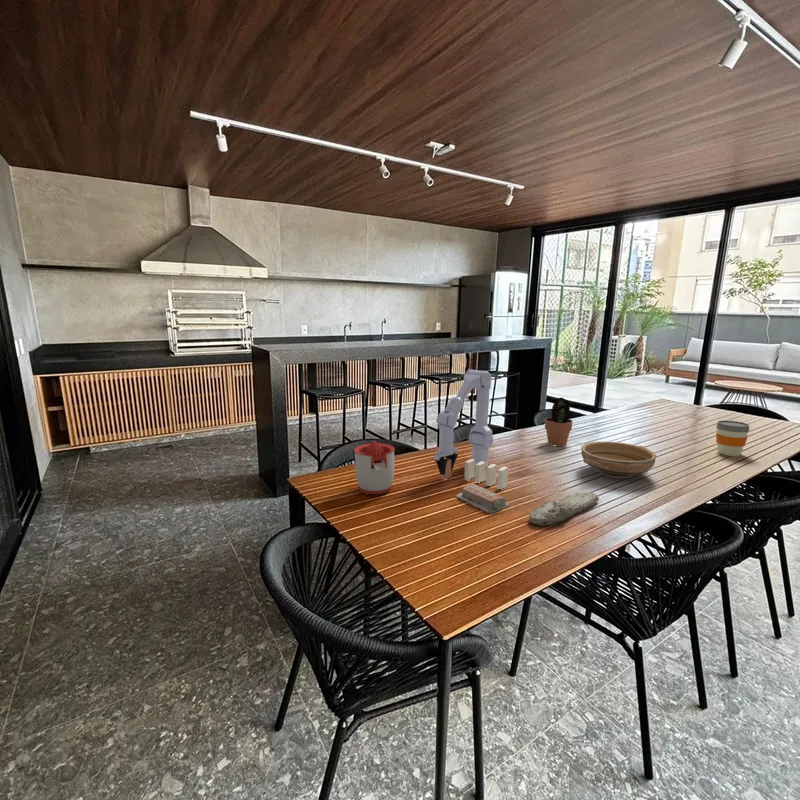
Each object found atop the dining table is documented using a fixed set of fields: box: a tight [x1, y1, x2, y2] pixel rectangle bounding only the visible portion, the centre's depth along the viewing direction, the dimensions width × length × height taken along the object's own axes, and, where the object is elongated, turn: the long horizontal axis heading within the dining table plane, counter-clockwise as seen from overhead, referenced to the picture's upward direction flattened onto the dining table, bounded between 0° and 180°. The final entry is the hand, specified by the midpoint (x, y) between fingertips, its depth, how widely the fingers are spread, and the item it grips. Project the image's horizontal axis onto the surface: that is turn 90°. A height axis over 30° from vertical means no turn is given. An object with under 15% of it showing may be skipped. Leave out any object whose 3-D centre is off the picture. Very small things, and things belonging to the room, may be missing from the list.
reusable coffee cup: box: [715, 420, 750, 457], centre depth 207 cm, size 13×13×15 cm
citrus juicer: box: [353, 440, 396, 495], centre depth 166 cm, size 16×17×20 cm
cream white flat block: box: [464, 458, 475, 480], centre depth 178 cm, size 2×5×8 cm, turn 140°
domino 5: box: [496, 466, 509, 491], centre depth 169 cm, size 2×5×8 cm, turn 140°
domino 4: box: [485, 463, 498, 487], centre depth 172 cm, size 2×5×8 cm, turn 140°
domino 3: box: [474, 461, 487, 484], centre depth 175 cm, size 2×5×8 cm, turn 140°
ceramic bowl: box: [580, 441, 657, 479], centre depth 183 cm, size 37×29×10 cm
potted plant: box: [544, 397, 573, 447], centre depth 224 cm, size 14×14×25 cm
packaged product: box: [454, 482, 510, 514], centre depth 157 cm, size 18×5×10 cm
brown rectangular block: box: [440, 459, 452, 480], centre depth 179 cm, size 2×5×8 cm, turn 140°
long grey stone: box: [528, 491, 599, 527], centre depth 148 cm, size 35×5×10 cm
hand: (446, 472), depth 179 cm, fingers closed on brown rectangular block, 5 cm apart
